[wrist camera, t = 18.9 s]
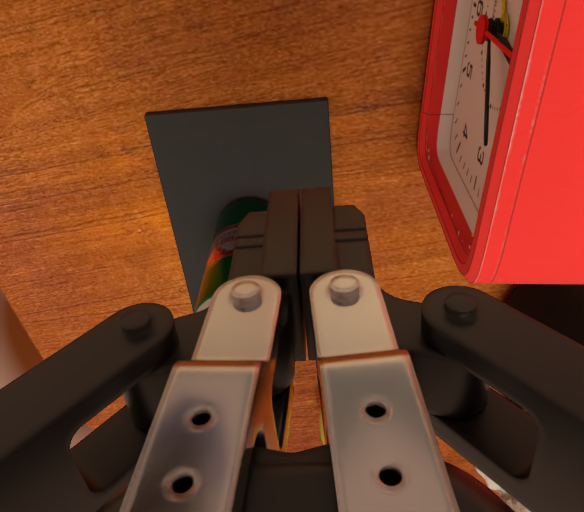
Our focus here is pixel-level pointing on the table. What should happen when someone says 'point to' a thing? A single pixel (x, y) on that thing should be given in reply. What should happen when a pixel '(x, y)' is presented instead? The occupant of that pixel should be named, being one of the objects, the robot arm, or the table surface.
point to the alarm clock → (507, 137)
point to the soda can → (224, 248)
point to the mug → (553, 307)
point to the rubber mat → (234, 164)
